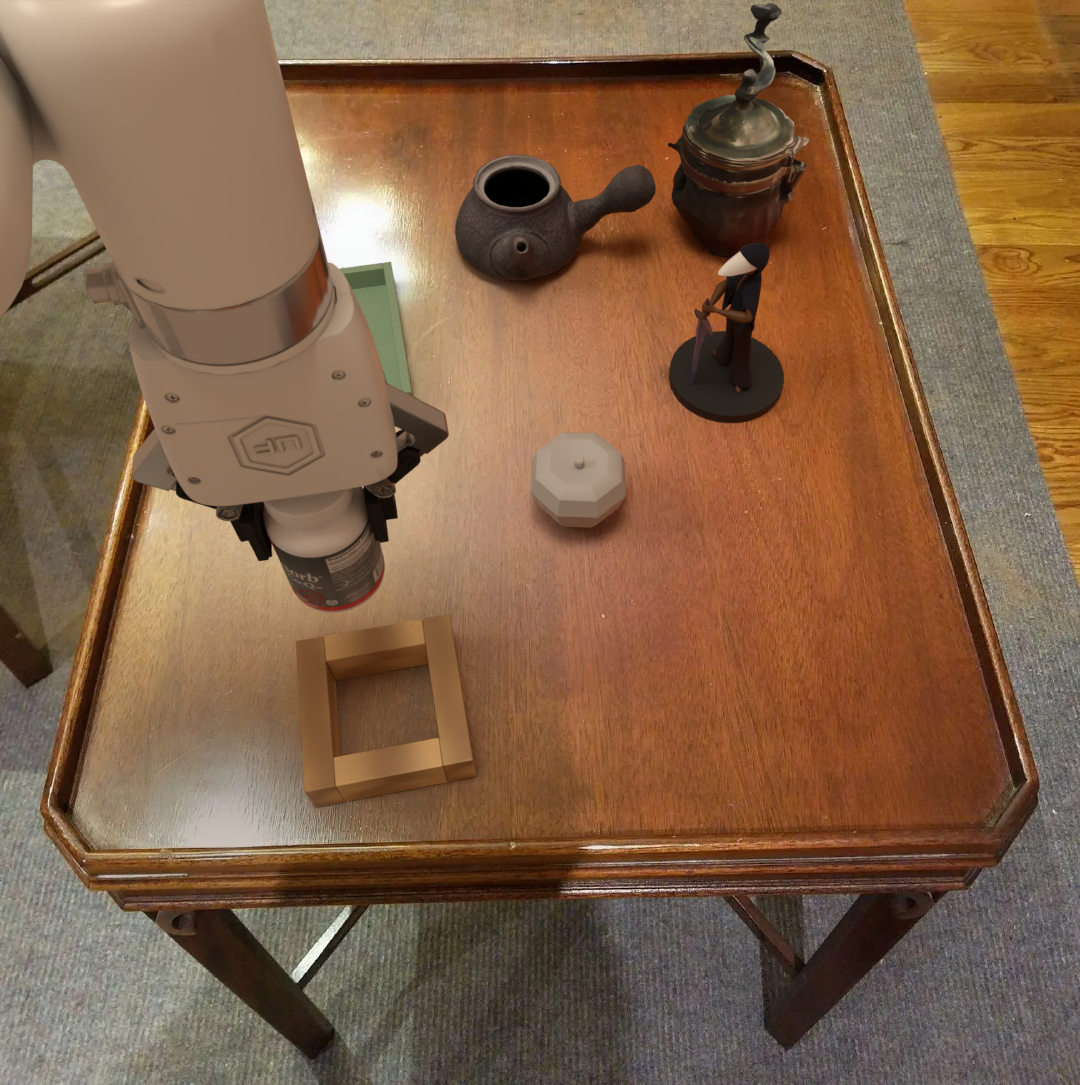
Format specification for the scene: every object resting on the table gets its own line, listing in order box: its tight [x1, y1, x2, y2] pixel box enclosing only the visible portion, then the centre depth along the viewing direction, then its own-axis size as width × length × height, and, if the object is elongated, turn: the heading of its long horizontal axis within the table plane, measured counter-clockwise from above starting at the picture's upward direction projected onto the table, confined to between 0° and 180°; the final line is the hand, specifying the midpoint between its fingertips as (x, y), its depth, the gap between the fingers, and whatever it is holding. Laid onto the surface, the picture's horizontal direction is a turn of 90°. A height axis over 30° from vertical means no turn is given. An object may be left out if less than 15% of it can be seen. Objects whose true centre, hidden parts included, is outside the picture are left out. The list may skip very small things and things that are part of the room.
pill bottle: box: [263, 486, 386, 614], centre depth 51 cm, size 6×6×10 cm
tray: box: [339, 261, 414, 397], centre depth 83 cm, size 16×17×3 cm
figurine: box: [668, 243, 785, 424], centre depth 75 cm, size 10×10×15 cm
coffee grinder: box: [667, 2, 810, 257], centre depth 86 cm, size 13×15×18 cm
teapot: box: [454, 154, 657, 281], centre depth 86 cm, size 19×15×10 cm
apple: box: [529, 431, 627, 529], centre depth 72 cm, size 8×8×7 cm
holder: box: [295, 614, 477, 808], centre depth 64 cm, size 11×11×4 cm
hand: (322, 528), depth 51 cm, fingers closed on pill bottle, 5 cm apart
